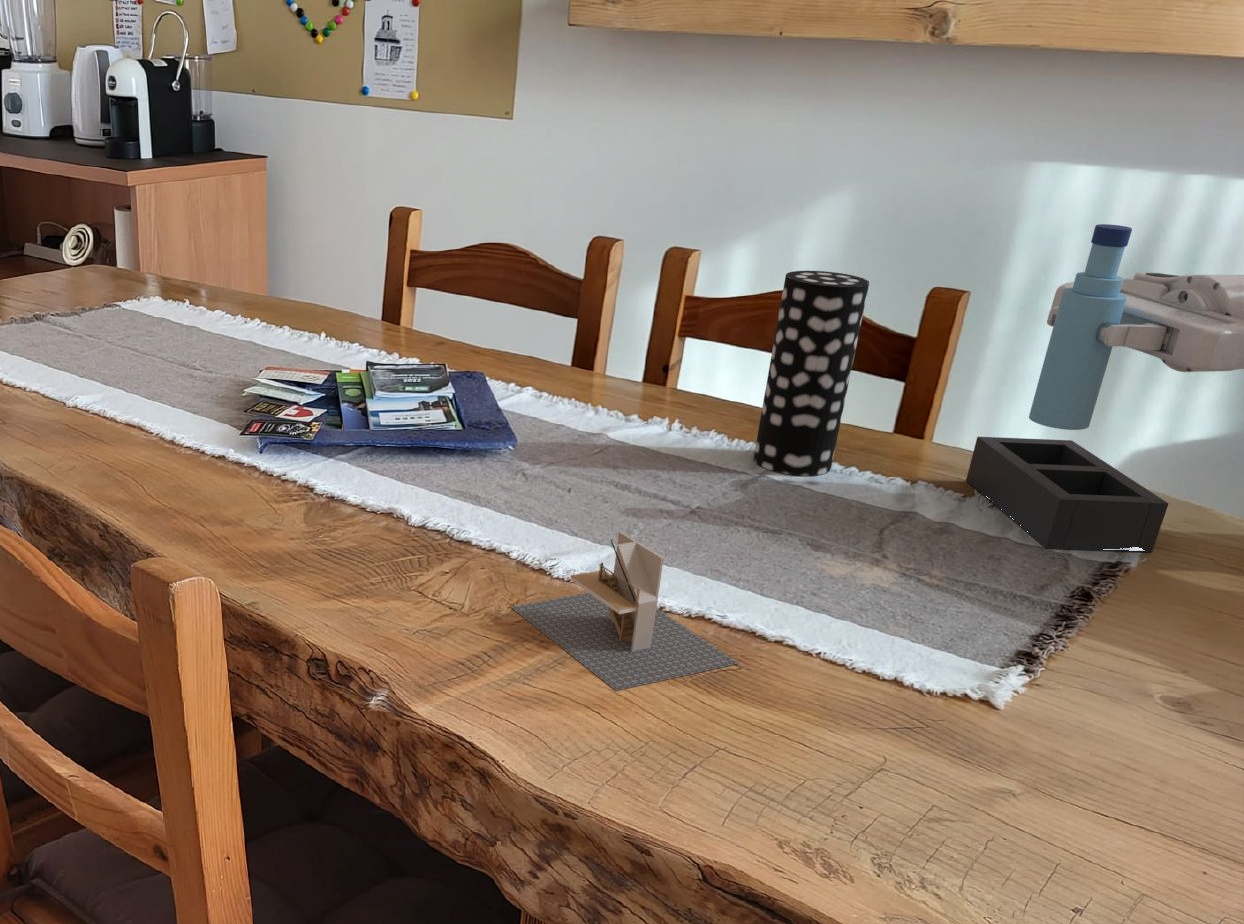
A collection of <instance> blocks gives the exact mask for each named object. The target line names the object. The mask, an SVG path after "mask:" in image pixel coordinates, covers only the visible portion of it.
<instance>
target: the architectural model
mask: <svg viewBox="0 0 1244 924" xmlns="http://www.w3.org/2000/svg"><path fill="white" fill-rule="evenodd" d="M610 543H611V546H612V549H613V551H614V554H615V559H614V568H613V572H612V570H610V569H608V568H607V567H605V566H604V562H603V561H602V562H600V563H599V564H598V565H599V570H594V571H588V572H583V573H577V574H571V575H570V581H572V582H573V583H574V584H575V585H577V586H578V587H580V588H581V589H583V590H584V591H586V592H584V593H583V592H582V593H577V594H573V595H567V596H561V597H556V598H550V599H545V600H540V601H533V602H529V603H528V602H527V603H523V604H518V605H511V606H510V608H511V609H513V611H515V612H516V613H517V614H518V615H520V616H521V617H522V618H524V619H525V620H526V621H527V622H528V623H530V624H531V625H532V626H533V627H535V628H536V629H538V630H539V631H540V632H541V633H542V634H543V635H545V636H547V638H549V639H550V640H551V641H553V642H554V644H557V645H558V646H559V647H560V648H561V649H562V650H564V651H565V652H567V653H568V654H569V655H570V656H572V657H573V658H574V659H575V660H577V661H578V662H579V663H581V665H583V666H585V668H587V669H588V670H589V671H591V672H592V673H593V674H595V676H597V677H598V678H599V679H601V680H602V681H603V682H605V683H606V684H607V685H608V686H610V687H611V688H612V689H613V690H614V691H621V690H625V689H626V690H627V689H630V688H633V687H634V688H635V687H639V686H643V685H647V684H652V683H656V682H661V681H666V680H670V679H675V678H678V677H679V678H680V677H683V676H688V675H693V674H697V673H702V672H706V671H711V670H715V669H720V668H725V667H729V666H733V665H737V664H739V662H738V661H736V660H735V659H734V658H732V657H731V656H729V655H728V654H726V652H725V653H724V652H723V651H722V650H721V649H719V648H718V647H715V646H714V645H713V644H711V643H710V642H708V641H707V640H706V639H704V638H702V637H701V636H699V635H698V634H696V633H695V632H694V631H692V630H690V629H689V628H687V627H686V626H684V625H683V624H681V623H680V622H679V621H677V620H675V619H674V618H673V617H671V616H669V615H668V614H667V613H665V612H664V611H662V610H661V609H659V608H658V607H657V606H658V597H659V592H660V587H661V579H662V574H663V573H662V572H663V566H664V559H665V558H664V556H662V555H660V554H659V553H658V552H655V551H653V550H652V549H650V548H649V547H647V546H645V545H644V544H642V543H640V542H639V541H637V540H636V539H634V538H632V537H631V536H629V535H628V534H626V533H625V532H623V531H619V532H618V537H617V544H616V548H615V544H614V542H613V540H612V539H611V540H610Z"/></svg>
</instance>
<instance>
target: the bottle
mask: <svg viewBox="0 0 1244 924" xmlns="http://www.w3.org/2000/svg"><path fill="white" fill-rule="evenodd" d="M1132 231H1133V228H1132V227H1130V226H1125V225H1119V224H1108V223H1107V224H1106V223H1102V224H1101V223H1099V224H1096V225H1095V226H1094V231H1093V233H1092V238H1091V240H1090V243H1091V247H1090V251H1089V254H1088V258H1087V261H1086V265H1085V269H1084V271H1082V272H1081V271H1080V272H1077V273H1076V274H1075V277H1074V281H1073V282H1074V285H1073V287H1070V288H1065V289H1064V290H1063V293H1062V297H1061V300H1060V304H1059V308H1058V311H1057V315H1056V319H1055V322H1054V326H1053V327H1052V330H1051V334H1050V337H1049V341H1048V344H1047V349H1046V352H1045V356H1044V360H1043V362H1042V367H1041V371H1040V374H1039V378H1038V382H1037V385H1036V389H1035V392H1034V396H1033V400H1032V403H1031V406H1030V411H1029V415H1028V418H1029V419H1028V420H1030V421H1032V422H1034V423H1035V424H1037V425H1040V426H1044V427H1047V428H1053V429H1058V430H1068V431H1081V430H1086V429H1088V428H1089V427H1090V424H1091V421H1092V417H1093V415H1094V411H1095V408H1096V404H1097V401H1098V399H1099V398H1098V397H1099V394H1100V391H1101V388H1102V385H1103V381H1104V378H1105V374H1106V370H1107V367H1108V363H1109V361H1110V357H1111V355H1112V351H1113V347H1114V346H1107V345H1104V344H1101V343H1099V342H1097V341H1096V336H1097V334H1098V333H1099V332H1098V329H1099V326H1100V325H1101V324H1102V323H1120V320H1121V317H1122V313H1123V310H1124V306H1125V303H1126V300H1127V296H1126V295H1124V294H1121V293H1120V289H1121V286H1122V283H1123V279H1124V278H1123V277H1122V276H1120V275H1118V274H1119V269H1120V266H1121V264H1122V263H1121V262H1122V259H1123V255H1124V253H1125V248H1126V247H1127V246H1129V240H1130V238H1131V235H1132Z"/></svg>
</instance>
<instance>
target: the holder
mask: <svg viewBox="0 0 1244 924" xmlns="http://www.w3.org/2000/svg"><path fill="white" fill-rule="evenodd" d="M965 482H967V484H969V485H970V486H971V487H972V488H973V489H975V490H976V491H977V492H978V493H979V494H981V495H982V496H983V498H986V499H987V500H988V501H989V502H990V503H992V504H993V505H994V506H995V508H997V509H999V511H1001V512H1002V513H1003V514H1004V515H1006V516H1007V517H1008V518H1009V519H1010V520H1012V521H1013V522H1014V523H1015V524H1016V525H1017V526H1019V527H1020V528H1021V529H1022V530H1023V531H1024V532H1026V533H1027V534H1028V535H1029V536H1031V538H1033V539H1034V540H1035V541H1036V542H1038V543H1039V544H1040V545H1041V546H1043V547H1044V548H1045V549H1048V550H1052V549H1053V550H1073V551H1075V550H1080V551H1102V552H1103V551H1104V552H1127V553H1150V554H1151V553H1153V550H1154V549H1155V545H1156V542H1157V539H1158V536H1159V533H1160V530H1161V527H1162V524H1163V521H1164V518H1165V516H1166V513H1167V510H1168V507H1169V503H1168V502H1167V501H1166V500H1164V499H1163V498H1161V497H1159V496H1158V495H1157V494H1155V493H1154V492H1152V491H1150V490H1149V489H1148V488H1146V487H1144V486H1143V485H1141V484H1140V483H1138V482H1136V481H1135V480H1134V479H1132V478H1130V476H1127V475H1126V474H1124V473H1123V472H1121V471H1120V470H1118V469H1117V468H1115V467H1114V466H1112V465H1111V464H1109V463H1108V462H1106V461H1104V460H1103V459H1101V458H1099V456H1097V455H1095V454H1094V453H1092V452H1090V451H1089V450H1087V449H1086V448H1085V447H1083V446H1081V445H1080V444H1079V443H1076V442H1075V441H1074V440H1072V439H1049V438H1047V439H1042V438H1025V437H1024V438H1022V437H1019V438H1018V437H999V436H998V437H996V436H977V437H976V440H975V444H974V449H973V452H972V456H971V460H970V463H969V466H968V471H967V475H966V479H965ZM986 496H987V497H988V498H990V499H988V498H987V497H986ZM992 501H993V502H992ZM1001 509H1002V510H1001ZM1010 516H1011V517H1010ZM1012 518H1013V519H1014V520H1015V521H1014V520H1013V519H1012ZM1020 525H1021V526H1020ZM1027 531H1028V532H1027ZM1130 547H1131V548H1132V547H1139V548H1142V549H1143V550H1145V551H1129V550H1103V549H1120V548H1122V549H1123V548H1130Z"/></svg>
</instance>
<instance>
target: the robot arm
mask: <svg viewBox="0 0 1244 924" xmlns="http://www.w3.org/2000/svg"><path fill="white" fill-rule="evenodd" d="M1073 285H1074V281H1070V282H1066V283H1063V284H1061V285H1060V286H1058V287H1057V288H1056V290H1055V293H1054V297H1053V299H1052V302H1051V308H1050V310H1049V311H1048V316H1047V320H1046V324H1047V325H1048V326H1049V327H1052V328H1053V326H1054V322H1055V319H1056V315H1057V311H1058V308H1059V304H1060V300H1061V297H1062V293H1063V290H1064V289H1065V288H1070V287H1073ZM1120 293H1121V294H1124V295H1126V296H1127V300H1126V303H1125V306H1124V310H1123V313H1122V317H1121V320H1120V323H1102V324H1101V325H1100V326H1099V329H1098V332H1099V333H1098V334H1097V336H1096V341H1097V342H1099V343H1101V344H1104V345H1107V346H1113V347H1125V348H1129V349H1132V350H1135V351H1138V352H1141V353H1143V354H1146V355H1149V356H1151V357H1154V358H1157V359H1160V360H1161V361H1162V362H1163V364H1164V365H1165V366H1166V367H1168V368H1169V369H1171V370H1173V371H1176V372H1180V373H1204V372H1205V373H1207V372H1208V373H1209V372H1211V373H1213V372H1232V371H1238V370H1244V274H1188V275H1187V274H1186V275H1175V274H1167V273H1163V272H1162V273H1161V272H1149V271H1148V272H1147V271H1145V272H1143V271H1140V272H1136V273H1135V274H1134V275H1133V278H1123V283H1122V286H1121V289H1120Z"/></svg>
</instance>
